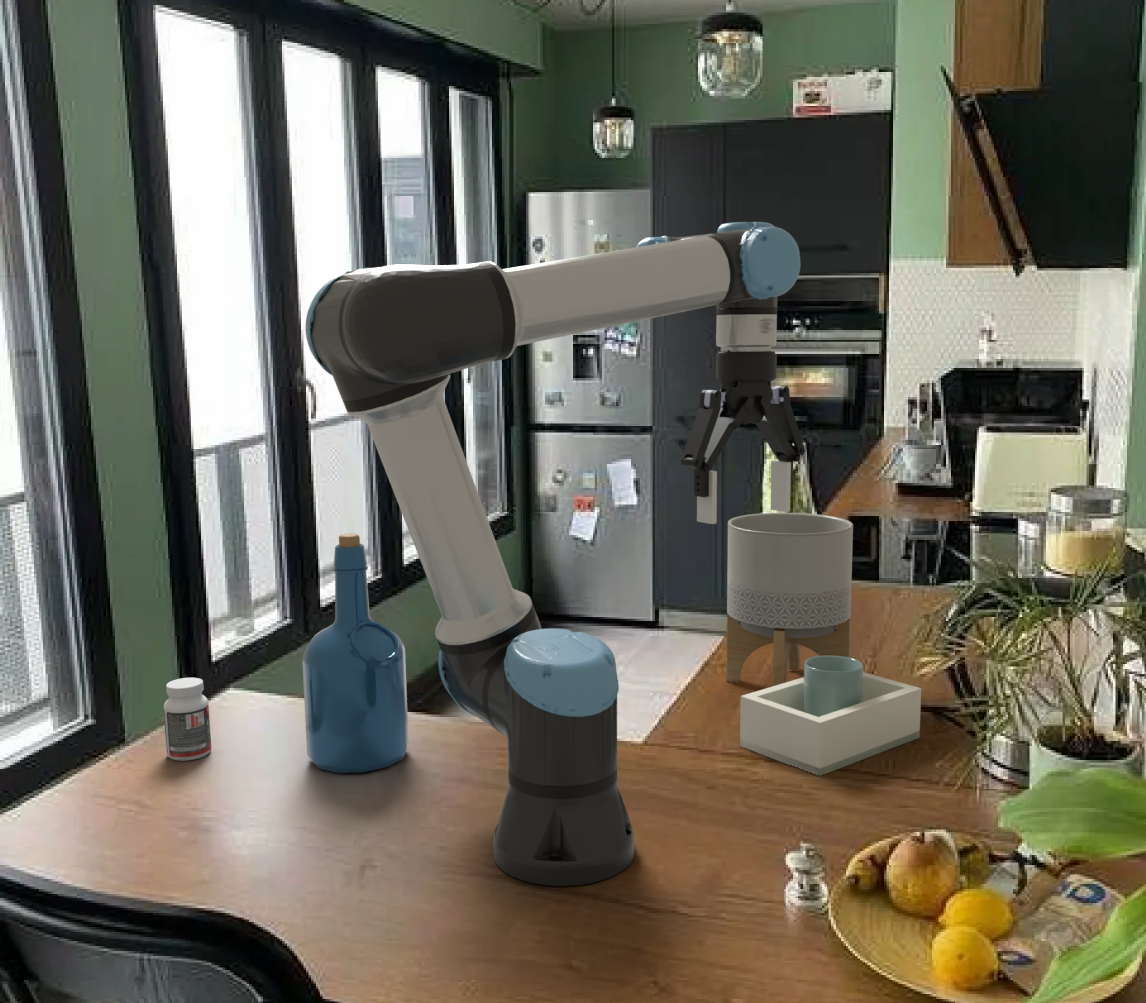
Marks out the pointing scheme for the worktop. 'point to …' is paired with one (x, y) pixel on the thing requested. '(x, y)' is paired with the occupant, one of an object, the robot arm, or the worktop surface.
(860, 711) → the open box
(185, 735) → the pill bottle
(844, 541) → the planter
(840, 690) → the cup
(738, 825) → the worktop surface
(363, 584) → the wine bottle
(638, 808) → the worktop surface
